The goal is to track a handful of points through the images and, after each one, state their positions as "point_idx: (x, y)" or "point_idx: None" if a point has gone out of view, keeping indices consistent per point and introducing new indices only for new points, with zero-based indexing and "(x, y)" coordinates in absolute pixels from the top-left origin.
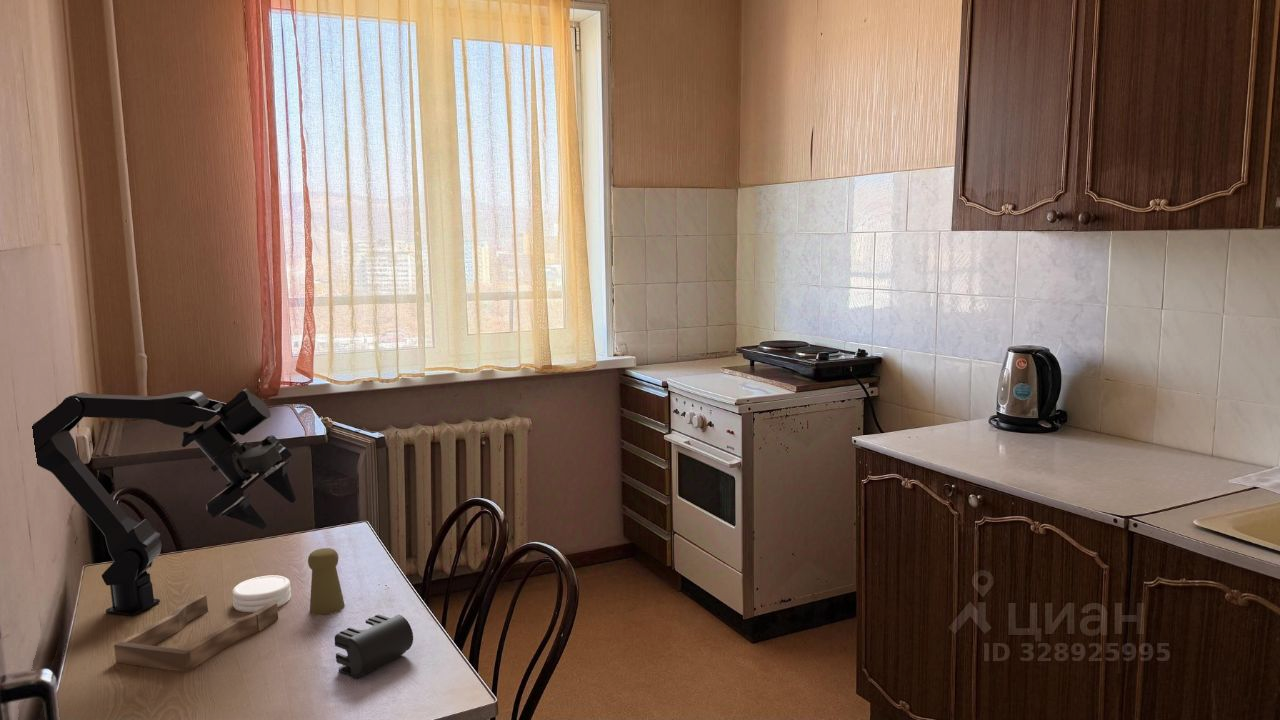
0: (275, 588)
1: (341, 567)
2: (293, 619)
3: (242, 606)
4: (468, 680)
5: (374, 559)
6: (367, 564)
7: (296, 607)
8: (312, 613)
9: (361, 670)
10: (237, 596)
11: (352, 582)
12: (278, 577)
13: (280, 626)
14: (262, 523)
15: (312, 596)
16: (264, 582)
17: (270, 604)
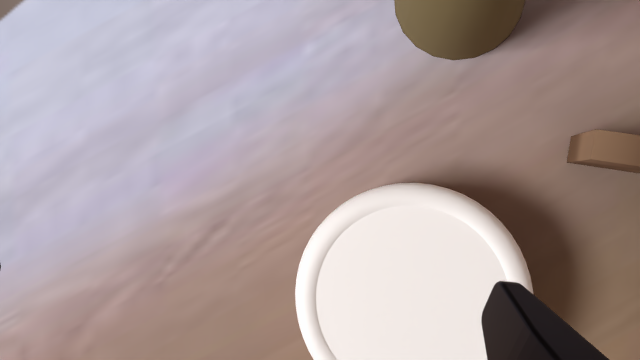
0: (440, 218)
1: (82, 139)
2: (568, 75)
3: None
4: None
5: (5, 49)
6: (51, 52)
7: (457, 122)
8: (515, 25)
9: None
10: None
11: (217, 24)
12: (320, 268)
13: (637, 92)
14: (559, 320)
15: (520, 2)
16: (377, 304)
17: (613, 150)
